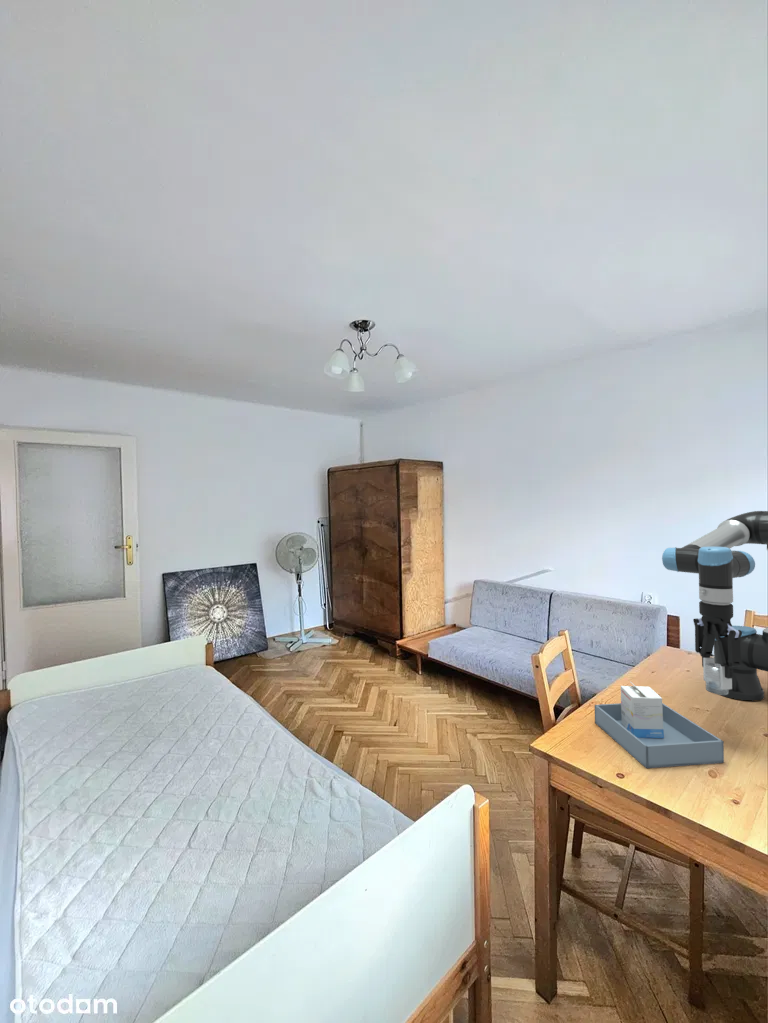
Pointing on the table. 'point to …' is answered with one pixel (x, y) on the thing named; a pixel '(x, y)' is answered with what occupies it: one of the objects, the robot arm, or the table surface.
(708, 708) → the table surface
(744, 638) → the robot arm
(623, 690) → the ink box
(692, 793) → the table surface
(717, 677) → the tin
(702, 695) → the table surface
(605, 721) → the tote
